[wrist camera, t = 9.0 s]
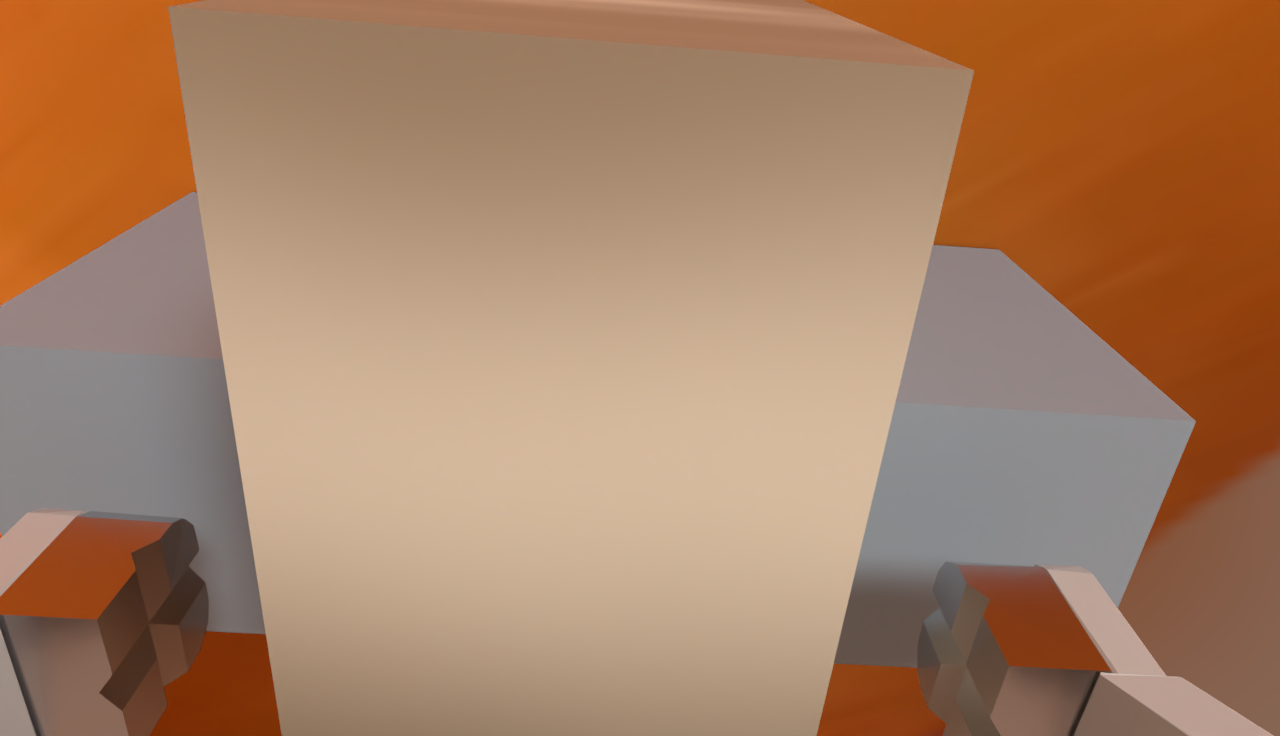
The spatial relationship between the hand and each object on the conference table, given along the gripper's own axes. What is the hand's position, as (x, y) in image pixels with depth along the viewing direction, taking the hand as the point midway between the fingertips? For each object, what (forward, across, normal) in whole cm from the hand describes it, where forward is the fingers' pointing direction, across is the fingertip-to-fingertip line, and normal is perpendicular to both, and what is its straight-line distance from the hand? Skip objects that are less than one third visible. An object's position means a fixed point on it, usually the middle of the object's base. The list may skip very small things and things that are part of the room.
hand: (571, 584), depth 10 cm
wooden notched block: (+7, 0, 0) cm, 7 cm away
